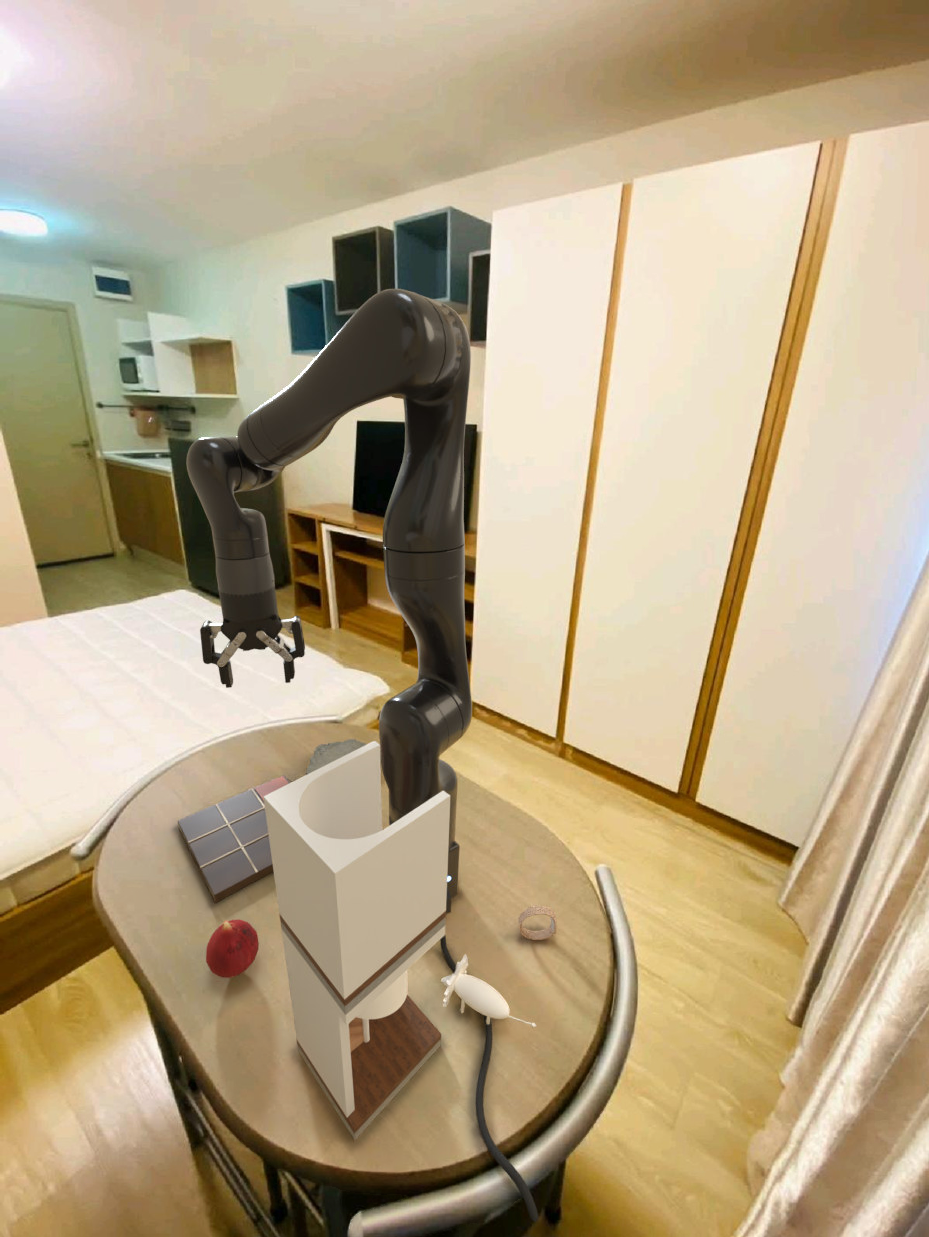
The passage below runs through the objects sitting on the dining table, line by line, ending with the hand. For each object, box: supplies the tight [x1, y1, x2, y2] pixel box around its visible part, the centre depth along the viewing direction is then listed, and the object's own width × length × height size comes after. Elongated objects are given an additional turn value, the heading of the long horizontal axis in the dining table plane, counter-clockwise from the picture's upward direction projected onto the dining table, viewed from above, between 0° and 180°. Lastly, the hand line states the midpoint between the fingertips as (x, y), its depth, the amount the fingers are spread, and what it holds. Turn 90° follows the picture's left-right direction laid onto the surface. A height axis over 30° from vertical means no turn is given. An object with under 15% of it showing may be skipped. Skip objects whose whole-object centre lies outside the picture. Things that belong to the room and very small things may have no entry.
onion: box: [205, 919, 260, 979], centre depth 63 cm, size 6×6×8 cm
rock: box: [305, 738, 382, 775], centre depth 99 cm, size 12×16×5 cm
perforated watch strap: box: [518, 905, 557, 941], centre depth 69 cm, size 3×5×5 cm, turn 91°
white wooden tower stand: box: [264, 740, 450, 1141], centre depth 50 cm, size 11×11×35 cm
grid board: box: [176, 774, 291, 903], centre depth 84 cm, size 18×18×2 cm
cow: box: [440, 953, 537, 1028], centre depth 60 cm, size 12×5×5 cm, turn 59°
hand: (259, 682), depth 81 cm, fingers open, 8 cm apart
